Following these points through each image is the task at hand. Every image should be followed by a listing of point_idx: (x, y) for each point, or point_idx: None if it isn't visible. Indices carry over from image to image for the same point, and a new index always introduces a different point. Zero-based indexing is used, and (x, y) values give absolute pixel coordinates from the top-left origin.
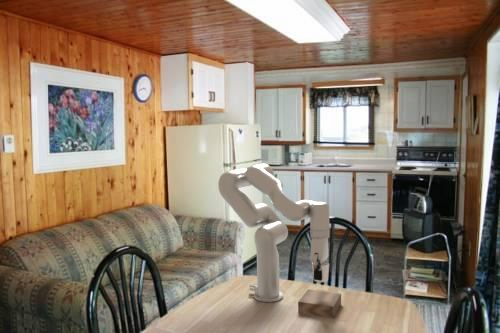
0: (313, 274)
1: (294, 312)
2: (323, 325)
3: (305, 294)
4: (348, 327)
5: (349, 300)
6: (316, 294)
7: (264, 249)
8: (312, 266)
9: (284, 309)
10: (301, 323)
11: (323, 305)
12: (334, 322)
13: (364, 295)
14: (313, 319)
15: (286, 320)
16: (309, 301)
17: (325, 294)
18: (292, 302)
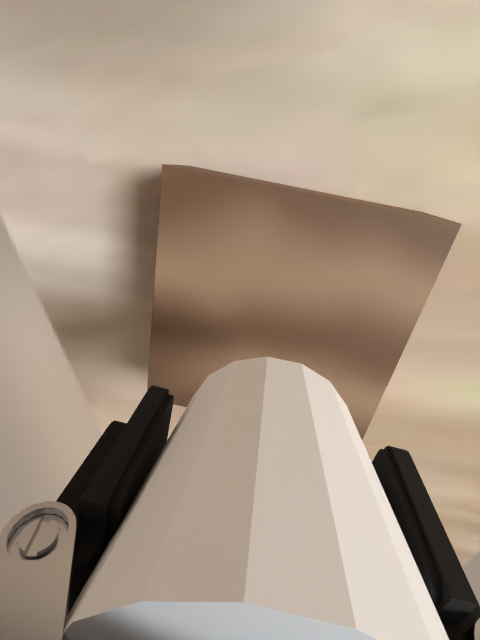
0: (216, 405)
1: (186, 137)
2: (78, 319)
3: (328, 211)
4: (100, 413)
5: (406, 439)
6: (335, 300)
7: None
8: (192, 515)
9: (220, 40)
10: (54, 206)
11: (150, 348)
12: (127, 365)
13: (475, 502)
14: (125, 268)
15: (53, 99)
16: (186, 257)
17: (339, 360)
18: (367, 87)
